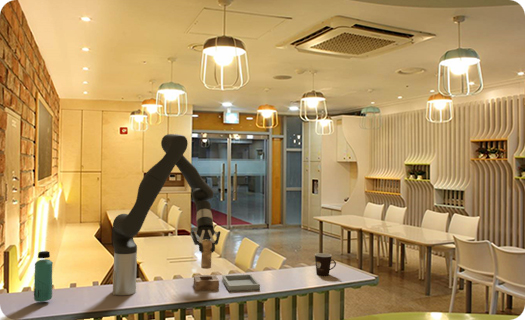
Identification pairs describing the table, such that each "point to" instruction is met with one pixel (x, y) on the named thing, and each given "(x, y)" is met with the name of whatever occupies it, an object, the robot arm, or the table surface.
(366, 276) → the table surface
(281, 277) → the table surface
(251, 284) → the slate grey tray
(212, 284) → the walnut block
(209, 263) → the oak dowel
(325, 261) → the coffee mug
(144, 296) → the table surface
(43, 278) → the beverage bottle
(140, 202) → the robot arm
